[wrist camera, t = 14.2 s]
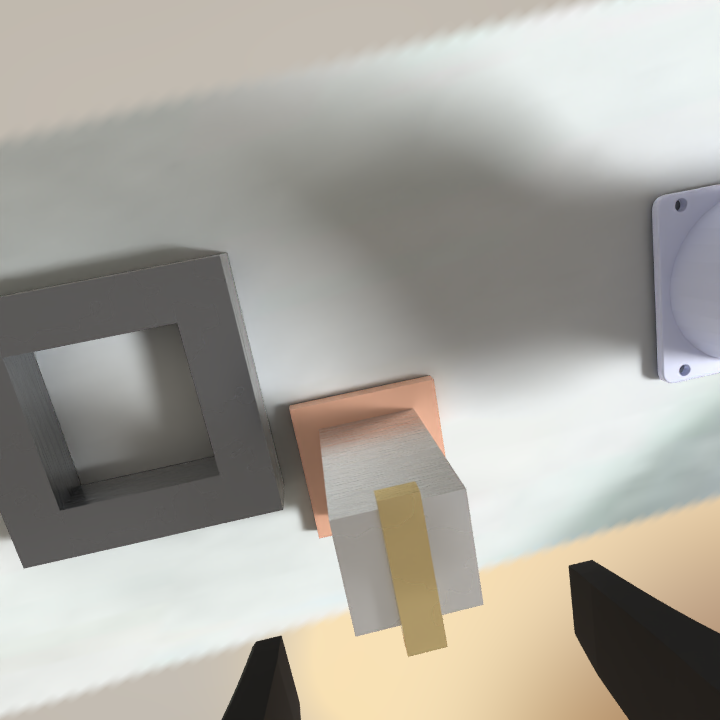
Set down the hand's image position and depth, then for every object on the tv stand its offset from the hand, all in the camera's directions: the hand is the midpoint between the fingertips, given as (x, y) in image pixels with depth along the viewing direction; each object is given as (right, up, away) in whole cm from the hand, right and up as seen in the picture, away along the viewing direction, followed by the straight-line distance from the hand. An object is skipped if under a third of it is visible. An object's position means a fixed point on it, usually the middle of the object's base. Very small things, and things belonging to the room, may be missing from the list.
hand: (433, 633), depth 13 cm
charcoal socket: (-11, +5, +8) cm, 14 cm away
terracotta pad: (-1, +3, +10) cm, 10 cm away
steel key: (-1, +2, +9) cm, 10 cm away
